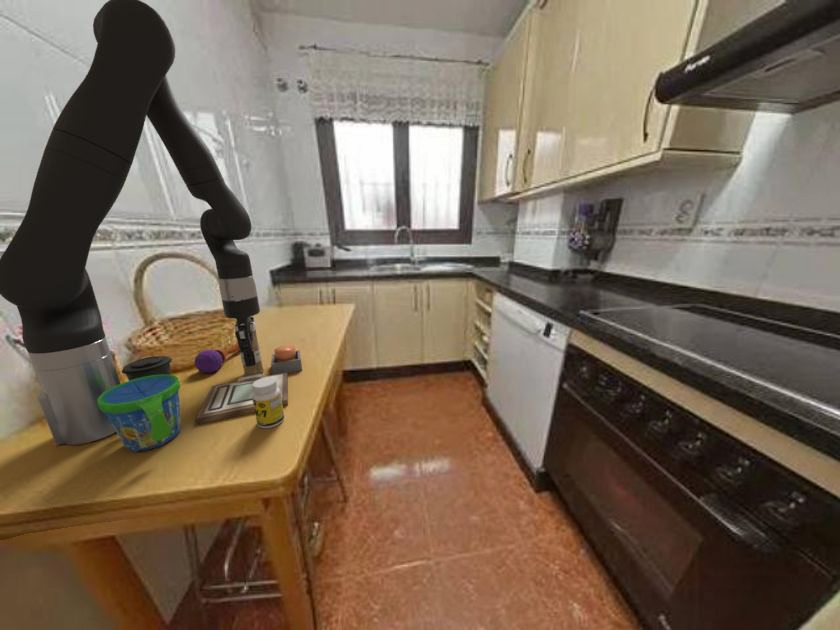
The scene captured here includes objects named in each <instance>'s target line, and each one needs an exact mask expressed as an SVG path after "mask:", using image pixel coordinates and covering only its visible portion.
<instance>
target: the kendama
mask: <svg viewBox="0 0 840 630" xmlns="http://www.w3.org/2000/svg"><path fill="white" fill-rule="evenodd" d="M237 352H240V350H239V345H238V342H237V343H235V344H234V345H233V346H231V347H229V348H228V349H226V350H221V349H205V350H203V351H201V352H199V353H198V354H197V355H196V356H195V358H194V366H195V368H196V370H198V371H199V372H201V373H203V374H204V373H206V374H207V373H208V374H209V373H213V372H215V371H218V370H219V369H220V367H221V366H222V365H223V363H224V362H225V361H226V358H227V356H228V355H230V354H233V353H237Z"/></svg>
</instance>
